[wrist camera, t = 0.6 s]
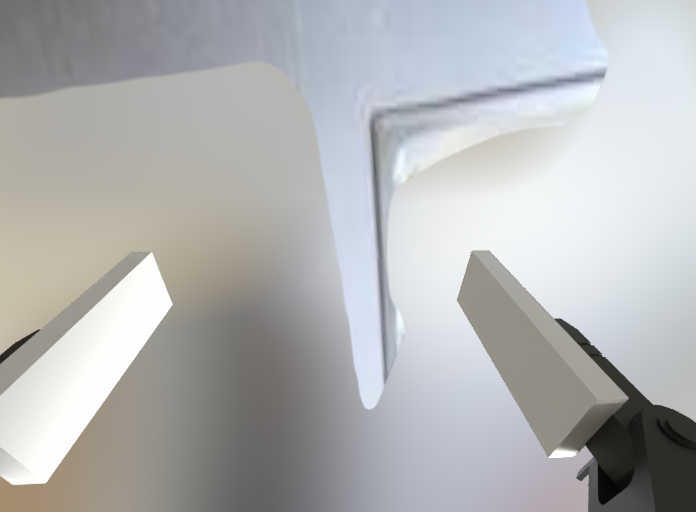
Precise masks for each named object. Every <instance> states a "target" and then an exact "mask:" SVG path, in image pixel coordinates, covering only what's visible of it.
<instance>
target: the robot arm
mask: <svg viewBox="0 0 696 512" xmlns="http://www.w3.org/2000/svg"><path fill="white" fill-rule="evenodd" d="M457 301H458V303H459V305H460V306H461V308H462V310H463V312H464V313H465V315H466V317H467V318H468V320H469V322H470V324H471V325H472V327H473V329H474V330H475V332H476V334H477V335H478V337H479V339H480V341H481V343H482V344H483V346H484V348H485V349H486V351H487V353H488V354H489V356H490V358H491V360H492V361H493V363H494V365H495V366H496V368H497V370H498V372H499V373H500V375H501V377H502V379H503V380H504V382H505V384H506V385H507V387H508V389H509V391H510V392H511V394H512V396H513V397H514V399H515V401H516V403H517V404H518V406H519V407H520V409H521V411H522V413H523V415H524V416H525V418H526V420H527V421H528V423H529V425H530V427H531V428H532V430H533V432H534V433H535V435H536V437H537V439H538V440H539V442H540V444H541V446H542V447H543V449H544V451H545V452H546V454H547V456H548V457H549V458H552V457H571V456H575V455H576V454H577V453H578V452H579V451H580V450H581V449H582V448H583V447H584V446H585V445H586V446H587V448H588V449H589V451H590V452H591V454H592V455H593V456H594V457H593V458H592V459H591V460H590V461H589V462H588V463H587V464H586V465H585V466H584V467H583V468H582V469H581V470H580V471H579V472H578V475H577V479H578V480H580V481H582V480H583V479H584V478H585V477H586V476H587V475H588V474H589V484H588V486H589V503H588V504H589V505H588V512H696V423H695V422H694V421H693V420H691V419H690V418H688V417H686V416H685V415H683V414H681V413H679V412H677V411H675V410H673V409H670V408H667V407H664V406H661V405H653V404H652V403H651V402H650V401H649V400H647V399H646V398H645V397H644V396H643V395H642V394H641V393H640V392H639V391H638V390H637V389H636V388H635V387H634V386H633V385H632V384H631V383H630V382H629V381H628V380H627V379H626V378H625V377H624V376H623V375H622V374H621V373H620V372H619V371H618V370H617V369H616V368H615V367H614V366H613V365H612V364H611V363H610V362H609V361H608V360H607V359H606V358H605V357H602V354H601V353H600V352H599V351H598V350H597V349H596V348H595V347H594V346H592V345H591V343H590V342H589V341H588V340H587V339H586V338H585V337H584V336H583V335H582V334H581V333H580V332H579V331H578V330H577V329H576V328H574V327H573V326H571V325H570V324H568V323H566V322H565V321H564V320H562V319H554V318H553V317H552V316H551V315H550V314H548V312H547V311H546V310H545V309H544V308H543V307H542V306H541V305H540V304H539V303H538V302H537V301H536V300H535V298H534V297H533V296H532V295H531V294H530V293H529V292H528V291H527V290H526V289H525V288H524V287H523V286H522V285H521V284H520V283H519V282H518V280H517V279H516V278H515V277H514V276H513V275H512V274H511V273H510V272H509V271H508V270H507V269H506V268H505V267H504V266H503V265H502V264H501V263H500V262H499V260H498V259H497V258H495V256H494V255H493V254H492V253H491V252H490V251H472V252H471V255H470V259H469V262H468V265H467V269H466V272H465V275H464V278H463V282H462V285H461V289H460V292H459V295H458V298H457ZM171 306H172V302H171V300H170V298H169V295H168V292H167V289H166V287H165V284H164V282H163V279H162V277H161V274H160V272H159V269H158V266H157V264H156V261H155V259H154V256H153V254H152V252H131V253H130V254H129V255H128V256H126V257H125V258H124V259H123V260H122V261H121V262H119V263H118V264H117V265H116V266H115V267H114V268H112V269H111V270H110V271H109V272H108V273H106V274H105V275H104V276H103V277H102V278H101V279H100V280H98V281H97V282H96V283H95V284H94V285H92V286H91V287H90V288H89V289H88V290H87V291H85V292H84V293H83V294H82V295H81V296H80V297H78V298H77V299H76V300H75V301H74V302H73V303H71V304H70V305H69V306H68V307H67V308H66V309H64V310H63V311H62V312H61V313H60V314H59V315H57V316H56V317H55V318H54V319H53V320H51V321H50V322H49V323H48V324H47V325H46V326H44V327H43V328H42V329H41V330H37V331H35V332H33V333H32V334H30V335H28V336H26V337H25V338H23V339H21V340H20V341H18V342H16V343H15V344H13V345H12V346H11V347H10V348H9V349H7V350H6V351H5V352H4V353H3V354H1V355H0V476H1V477H3V478H4V479H5V480H7V481H8V482H10V483H11V484H12V485H18V484H37V483H46V482H47V481H48V479H49V478H50V476H51V475H52V474H53V472H54V471H55V469H56V468H57V466H58V465H59V463H60V462H61V461H62V459H63V458H64V457H65V455H66V454H67V452H68V451H69V450H70V448H71V447H72V445H73V444H74V442H75V441H76V440H77V438H78V437H79V435H80V434H81V433H82V431H83V430H84V428H85V427H86V426H87V424H88V423H89V421H90V420H91V418H92V417H93V416H94V414H95V413H96V412H97V410H98V409H99V407H100V406H101V405H102V403H103V402H104V400H105V399H106V397H107V396H108V395H109V393H110V392H111V390H112V389H113V388H114V386H115V385H116V383H117V382H118V381H119V379H120V378H121V376H122V375H123V374H124V372H125V371H126V369H127V368H128V366H129V365H130V364H131V362H132V361H133V359H134V358H135V357H136V355H137V354H138V352H139V351H140V349H141V348H142V347H143V345H144V344H145V342H146V341H147V340H148V338H149V337H150V335H151V334H152V333H153V331H154V330H155V328H156V327H157V326H158V324H159V323H160V321H161V320H162V319H163V317H164V316H165V314H166V313H167V312H168V310H169V309H170V307H171Z"/></svg>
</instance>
